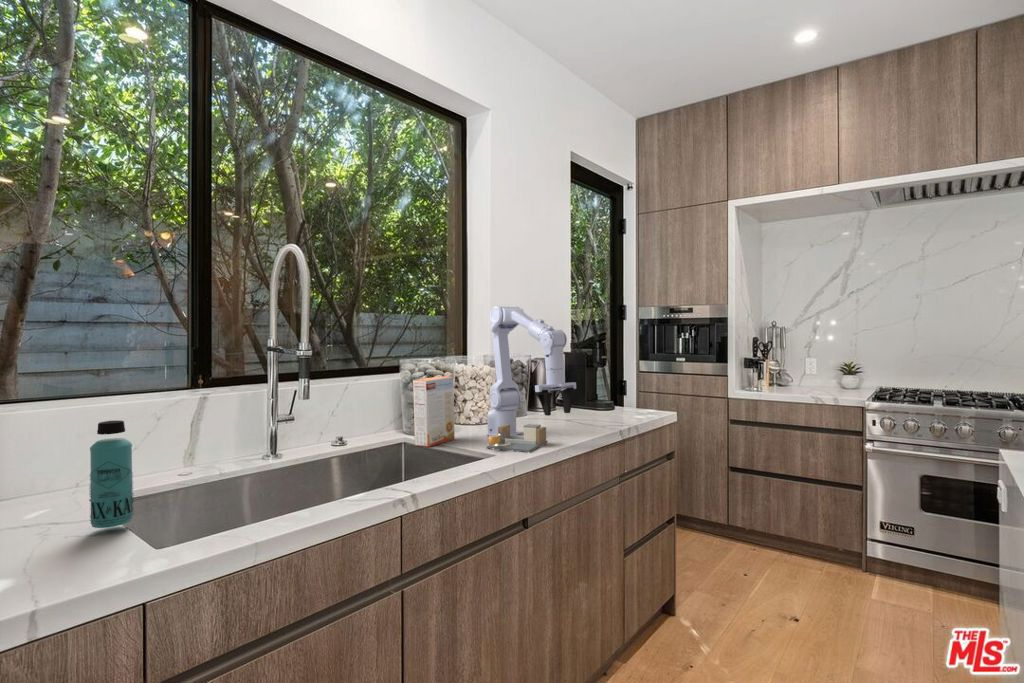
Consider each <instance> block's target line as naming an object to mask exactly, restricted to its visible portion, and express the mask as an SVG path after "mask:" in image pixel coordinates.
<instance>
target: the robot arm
mask: <svg viewBox="0 0 1024 683" xmlns="http://www.w3.org/2000/svg"><path fill="white" fill-rule="evenodd" d="M489 323H490V331H491V336H492V338H491V339H492V347H493V356H494V357H493V358H494V366H495V377H496V378H495V380H496V382H495V383H494V384H493V385H491V387H490V388H489V389H490V394H489V403H490V406H491V407H492V408H491V409H489V410H488V413H487V434H486V436H487V435H489V436H496V435H497V433H498V427H500V426H503V425H505V424H509V425H510V435H517V436H519V435H520V434H521V432H520V431H517V410H518V409H519V406H520V405H521V403H522V394H521V392H520V389H519V385H518V384H517V383H516V382H515V381H514V380H513V377H512V366H511V364H512V363H511V356H510V355H511V354H510V348H509V347H510V344H509V334H510V332H512V331H514V329H516V328H517V326H521V327H524V328H525V329H527V331H528V334H529V336H530V337H532V338H534V339H535V340H536V341H538V342H539V345H540V347H541V348H542V354H543V355H544V364H545V365H544V366H545V382H546V383H545V384H537V385H534V391H535V395H536V397H537V399H538V400H539V402H540V405H541V407H542V410H543V413H544V416H547V417H548V416H551V415H552V396H553V392H552V391H560V396H561V399H562V405H563V406H562V408H563V413H564V414H571V411H572V409H571V408H572V405H573V404H572V403H573V400H574V398H575V395H576V394H577V382H566V376H565V357H564V348H565V347H566V345H567V343H568V342H567V341H568V337H567V334H566V332H564V331H563V330H562V329H554V327H553V326H552V325H548V324H547V323H545V320H544V319H533V318H532V317H530V315H528V314H527V313H525V312H524V308H521V307H519V306H499V305H496V306H495V305H494V306H493V307H492V309H491V310H490V313H489ZM550 391H551V392H550ZM489 436H488V437H489Z"/></svg>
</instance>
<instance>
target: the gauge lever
mask: <svg viewBox="0 0 1024 683" xmlns="http://www.w3.org/2000/svg"><path fill="white" fill-rule="evenodd" d="M499 442H500V435H496V436H488V445H495V444H496V443H499Z"/></svg>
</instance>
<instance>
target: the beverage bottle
mask: <svg viewBox="0 0 1024 683" xmlns="http://www.w3.org/2000/svg"><path fill="white" fill-rule="evenodd" d="M125 432H126V427H125V421H124V420H106V421H100V422H98V424H97V432H96V434H97V435H102V436H103V435H115V434H121V433H125ZM89 450H90V451H89V452H90V473H89V476H88V477H89V482H90V483H89V488H88V489H89V495H88V496H89V502H90V516H89V522H90V524H91V527H92V528H94V529H106V528H113V527H118V526H122V525H125V524H127V523H130V522H131V521H132V519H133V516H134V509H135V507H134V506H135V504H134V503H135V502H134V501H135V500H134V498H135V497H134V493H133V491H134V486H133V485H134V482H135V481H133V452H132V451H133V444H132V442H131V441H130V440H128V439H127V438H124V437H113V438H104V439H99V440H96V441H95V442H94V443H93V444H92V445H91V446H90V447H89Z"/></svg>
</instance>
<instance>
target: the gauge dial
mask: <svg viewBox="0 0 1024 683" xmlns="http://www.w3.org/2000/svg"><path fill="white" fill-rule="evenodd" d="M497 435H500V442H499V443H496V444H495V445H492V446H499V447H502V446H509V445H511V443H510V442H505V433H497Z"/></svg>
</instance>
